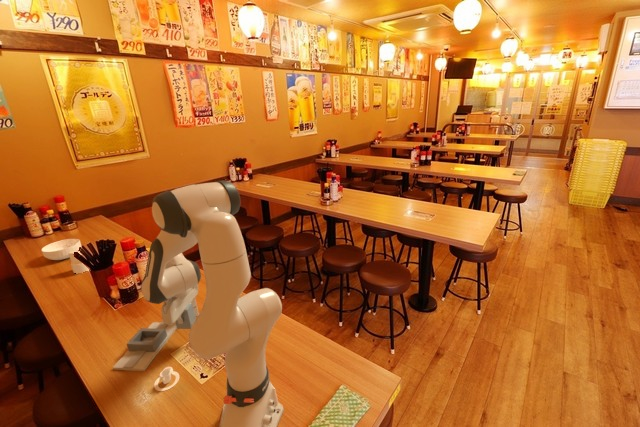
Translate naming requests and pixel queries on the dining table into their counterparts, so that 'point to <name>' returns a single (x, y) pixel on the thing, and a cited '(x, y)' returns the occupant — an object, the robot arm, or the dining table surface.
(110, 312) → the dining table surface
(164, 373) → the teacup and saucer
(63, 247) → the bowl
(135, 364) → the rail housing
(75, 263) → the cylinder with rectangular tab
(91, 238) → the dining table surface
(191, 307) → the block
